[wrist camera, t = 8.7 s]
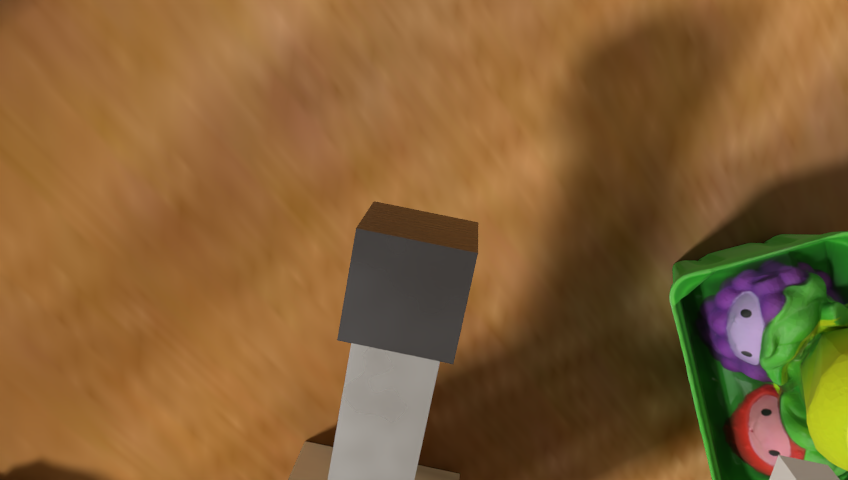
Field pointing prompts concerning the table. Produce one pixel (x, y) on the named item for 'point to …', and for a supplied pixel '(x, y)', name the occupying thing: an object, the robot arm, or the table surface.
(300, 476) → the light wood tall block
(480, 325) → the table surface
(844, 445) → the fruit basket
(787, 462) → the robot arm
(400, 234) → the shaft
